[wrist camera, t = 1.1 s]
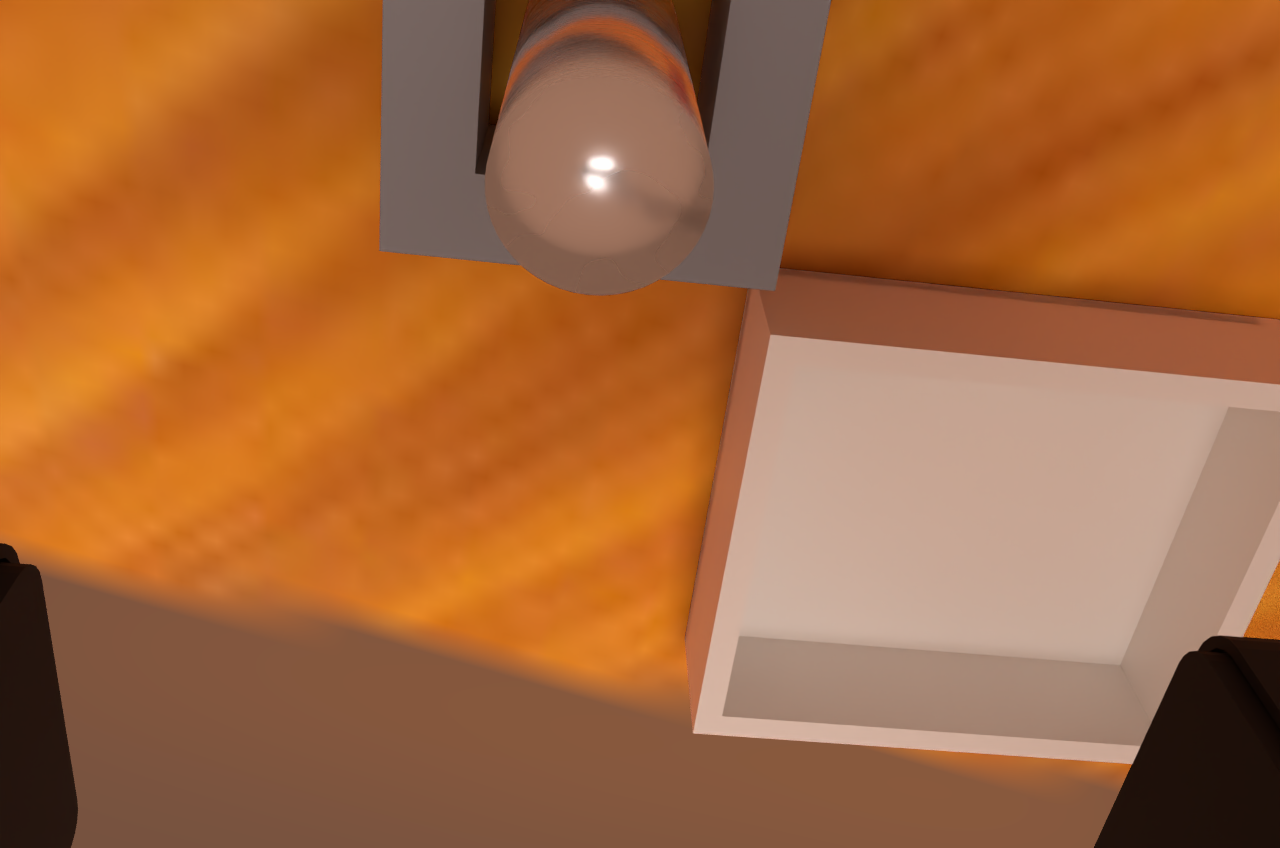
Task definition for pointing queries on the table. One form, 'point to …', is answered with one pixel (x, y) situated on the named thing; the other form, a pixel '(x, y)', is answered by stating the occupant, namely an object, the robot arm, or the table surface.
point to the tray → (978, 515)
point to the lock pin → (599, 147)
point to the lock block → (461, 135)
